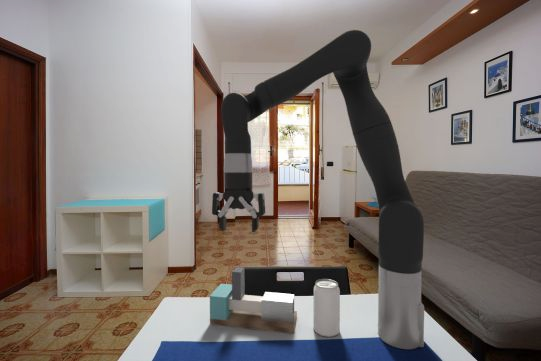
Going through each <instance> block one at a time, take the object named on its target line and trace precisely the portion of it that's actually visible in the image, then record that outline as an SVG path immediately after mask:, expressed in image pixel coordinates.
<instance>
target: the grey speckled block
mask: <svg viewBox="0 0 541 361" xmlns="http://www.w3.org/2000/svg"><path fill="white" fill-rule="evenodd" d="M294 311H295V294H291V293H282V292H271V291H265V292H264V294H263V298H262V300H261V321H271V322H280V323H290V324H292V323H293V318H294Z"/></svg>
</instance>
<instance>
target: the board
mask: <svg viewBox="0 0 541 361" xmlns="http://www.w3.org/2000/svg"><path fill="white" fill-rule="evenodd" d="M297 312H298V311H296V310H294V318H293V323H292V324H290V323H280V322H271V321H261V313H257V312H247V311H237V310H233V311H232V312H231V314H230V315H229V317H228V318H227V320H219V319H210V318H209V325H213V326H222V327H223V326H225V327H231V328H241V329H250V330H258V331H259V330H261V331H269V332H277V333H278V332H279V333H286V334H294V333H295V327H296V322H297V316H298V314H297Z"/></svg>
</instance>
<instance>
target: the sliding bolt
mask: <svg viewBox="0 0 541 361" xmlns="http://www.w3.org/2000/svg"><path fill="white" fill-rule="evenodd" d="M245 278H246V276H245V267H241V266H239V267H238V266H236V267H235V268H233V270H232V271H231V284H232V294H231V295H230V297H229V310H237V311H247V312H257V313H261V300H262V298H263V296H264V295H263V296H261V295H251V294H249V295H248V294H246V293H245V292H246V291H245V287H246V286H245V280H246V279H245Z"/></svg>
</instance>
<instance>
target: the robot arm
mask: <svg viewBox="0 0 541 361" xmlns="http://www.w3.org/2000/svg"><path fill="white" fill-rule="evenodd" d="M371 52H372V41H371V39H370V37H369V35H368V34H367V33H365V32H364V31H362V30H359V29H358V30H357V29H351V30H347V31H344V32H343V33H341V34H339V35H338V36H336V37H335V38H333V39H332V40H330V42H329V41H328V43H327V44H324V46H322V47H321V48H319V49H318V50H317V51H315V52H313V53H312V54H310V55H308V56H307V57H305V59H302V60H301V61H299V62H298V63H296V64H294V65H292V66H291V67H289V68H287V69H285V70H284V71H281V72H279V73H277V74H275V75H273V76H271V77H269V78H267V79H265V80H264V81H261V82H260V83H258V84H256V85H255V87H254V90H252V91H251V92H250V93H248V94H246V95H245V96H244V95H243V94H241V93H239V92H230V93H227V95H225V96H224V98H223V99H222V103H221V107H220V115H221V123H222V129H223V133H224V159H223V190H224V191H223V193H221V192H218V191H217V192H213V194H212V200H211V201H212V202H211V203H212V206H211V214H212V215H213V216H217V217H218V220H219V221H218V227H219V229H220V231H221V232H226V231H227V216H226V215H227V213H228V212H229V211H230V209H231V210H235V209H239V210H245V209H246V211H247V212H248V213H249V214H250V216H251V217H252V218H251V233H256V232H257V230H259V225H260V224H259V222H260V221H259V220H260V219H259V218H260V217H263V216H264V215H265V214H266V202H265V193H264V192H259V193H254V192H253V160H252V158H253V157H252V139H251V135H250V132H249V124H248V123H249V122H252V121H253V120H255V119H257V118H258V117H260V116H261V115H262V114H264V113H266V112H267V111H269V110H270V109H273V108H275V107H277V106H279V105H282V104H284V103H286V102H288V101H290V100H291V99H293V98H295V97H296V96H297V95H299V94H300V93H302V92H303V91H305V90H306V89H307V88H309V87H310V86H311V85H312V84H314V83H315V82H317V81H318V80H320V79H322V78H323V77H326V76H327V75H330V74H332V73H333V76H334V78H335V80H336V82H337V85H338V87H339V90H340V92H341V95H342V96H343V98H344V99H343V100H344V103H345V106H346V112H347V116H348V120H349V124H350V128H351V131H352V136H353V139H354V141H355V144H356V145H355V146H356V148H357V151H358V154H359V156H360V159H361V161H362V164H363V165H364V169H365V170H366V173H367V174H368V176H369V177H370V180H371V182H372V185H373V187H374V191H375V195H376V199H377V204H378V210H379V216H378V251H377V252H378V289H377V290H378V296H377V297H378V299H377V301H378V305H377V310H378V311H377V335H378V337H379V338H380V340H382V341H383V342H384V343H386V344H387V345H389V346H391V347H393V348H397V349H402V350H414V349H417V348H424V345H425V344H424V342H425V341H424V339H425V337H424V336H425V335H424V334H425V330H424V329H425V305H424V304H423V303H422V271H423V270H422V267H423V264H422V263H423V260H424V243H425V242H424V238H425V236H424V235H425V224H424V223H425V222H424V216H423V214H422V212H421V211H420V209H419V208H418V207H417V205H416V203H415V201H414V199H413V197H412V195H411V192H410V189H409V188H408V185H407V183H406V179H405V177H404V172H403V166H402V161H401V160H402V159H401V153H400V148H399V144H398V139H397V136H396V132H395V130H394V127H393V124H392V121H391V118H390V116H389V114H388V112H387V110H386V109H385V107H384V105H382V103H381V102H380V100H379V99H378V98H377V96H376V94H375V93H374V90H373V88H372V85H371V81H370V78H369V72H368V67H367V66H368V64H367V63H368V61H369V59H370V55H371ZM222 199H223V200H224V202H225V204H224V205H223V206H222V208H221V207H220V206H221V204H220V203H221V201H222ZM254 199H255V201H256V202H258V203H257V204H258V206H257V207H258V211H257V209H256V208H255V206H254V204H253V203H252V201H253V200H254ZM220 208H221V210H220Z"/></svg>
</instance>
